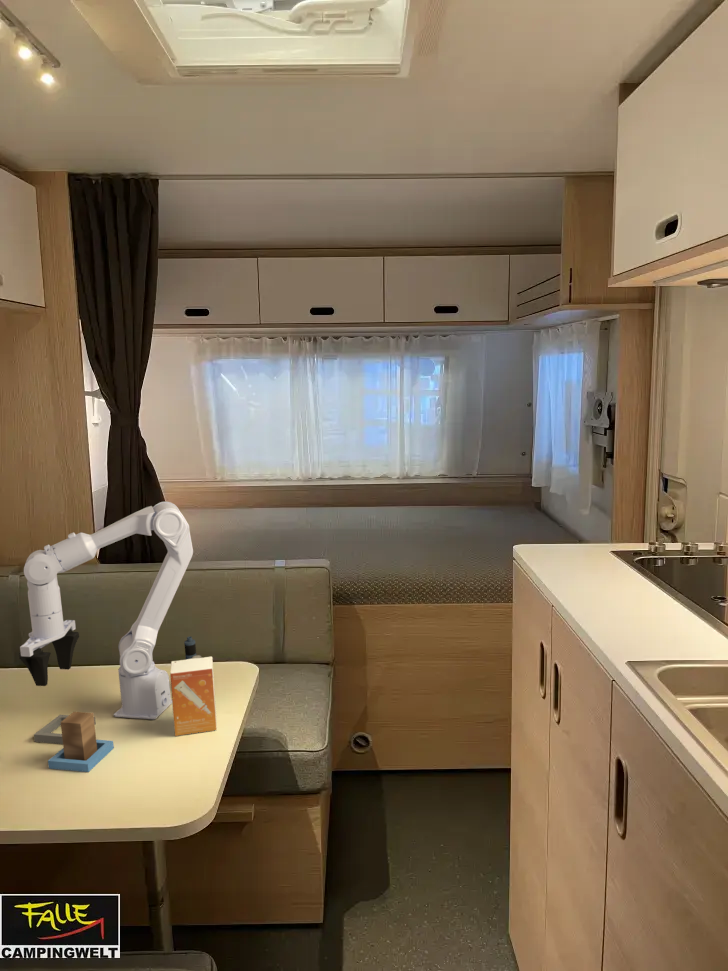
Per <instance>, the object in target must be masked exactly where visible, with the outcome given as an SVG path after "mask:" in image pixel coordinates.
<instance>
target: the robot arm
mask: <svg viewBox="0 0 728 971" xmlns="http://www.w3.org/2000/svg"><path fill="white" fill-rule="evenodd" d="M152 531H154V533H155V534H156V536H158V538H159V539H160V540H162V541H163V544H164V545H165V547H166V550H167V553H166V555H165V557H164V559H163V561H162V564H161V566H160V568H159V571H158V573H157V575H156V577H155V579H154V581H153V584H152V586H151V588H150V589H149V593H148V595H147V596H146V599H145V601H144V604H143V605H142V606H141V607H142V608H141V610H140V612H139V614H138V617H137V619H136V620H135V621H134V623H132V625H131V627H130V629H129V630H128V632H126V634H125V635H123V636H122V637H121V638H120V640H119V642H118V647H117V648H118V651H119V668H118V679H119V680H118V681H119V688H120V702H121V707H120V708H119V709H118V710H117V711H116V712H114V713H113V717H116V718H129V719H140V720H141V719H144V720H156V719H157V718H158V717H159V716H160V715H162V713H164V711H165V710H167V708H168V707H169V706H170V705H171V704H172V695H171V683H170V677H169V676H170V675H169V673H168V672H167V671H166V670H165V669H160V668H158V667H157V666H156V664H155V661H154V660H153V651H154V648H155V646H156V643H157V637H158V633H159V631H160V629H161V625H162V623H163V622H164V619H165V617H166V615H167V613H168V610H169V608H170V606H171V604H172V602H173V599H174V597H175V594H176V592H177V590H178V589H179V586H180V584H181V582H182V579H183V577H184V575H185V573H186V571H187V568H188V566H189V564H190V562H191V559H192V558H193V554H194V549H193V548H194V547H193V543H192V542H193V541H192V537H191V531H190V524H189V523H188V521H187V519H186V517H185V516H184V515H183V513H182V512H181V511H180V509H179V507H178V506H177V505H176V504H174V502H171V501H161V502H160V501H159V502H158V503H157V504H155V505H154V506H152V505H150V506H146V507H144V508H142V509H140V510H138V511H135V512H133V513H131V514H129V515H127V516H125V517H123V518H121V519H119V520H117V521H115V522H114V523H112V524H109V525H108V526H106V527H103V528H102V529H99V530H97V531H96V532H94V533H91V534H88V533H85V532H79V533H77V534H76V533H75V532H71V533H69V534H67V538H66V539H63V540H61V541H58V542H57V543H55V544H52V545H50V544H47V545H44V547H43V549H44V550H43V549H38V550H34V551H32V552H31V553H30V554H29V556H28V557H27V558H26V561H25V564H24V567H23V574H24V577H25V579H26V580H27V581H26V582H27V583H26V584H27V585H26V586H27V598H28V605H29V606H28V607H29V615H30V622H31V623H30V624H31V629H32V630H31V632H29V633H28V637H29V638H28V639H27V640H26V641H25V642H24V643H23V644H22V645H21V646H19V651H20V652H19V653H18V659H19V660H20V661H21V662H22V663H23V664H24V665H25V666H26V668H27V669H28V671H29V673H30V675H31V677H32V680H33V682H34V684H35V686H36V687H46V686H48V681H49V676H48V670H49V669H48V666H49V660H50V657H51V652H49V651H48V652H47V651H43V649H42V648H44V647H45V646H48V645H49V644H51V643H52V646H53V648H54V650H55V654H56V659H57V666H58V668H59V669H60V670H67V671H68V670H70V669H72V662H73V656H74V650H75V647H76V644H77V642H78V639H79V637H80V632H78V631H74V630H76V629H77V628H76V620H75V619H66V620H64V616H63V614H64V613H63V607H62V598H61V588H60V586H59V581H58V574H60V573H65V572H67V571H69V570H71V569H74V568H76V567H78V566H80V565H82V564H84V563H86V562H89V561H91V560H93V559H94V558H95V556H96V555H97V551H98V550H100V549H101V548H104V547H106V546H109V545H111V544H114V543H115V542H118V541H121V540H123V539H125V538H128V537H130V536H133V535H135V534H136V535H137V534H138V535H144V536H150V537H151V536H152Z"/></svg>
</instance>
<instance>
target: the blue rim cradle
mask: <svg viewBox="0 0 728 971" xmlns="http://www.w3.org/2000/svg"><path fill="white" fill-rule="evenodd" d="M96 742H97V751H96V752H95V753H94V754H93V755H92V756H91V757H90V758H89V759H87V760H86V761H83V760H72V759H65V756H64V748H63V747H62V748H61V749H60V750H59V751H58V752H57V753H55V755H53V756H51V758H49V759H48V760H47V763H48V764H47V765H48V769H52V770H62V771H72V772H84V773H89V772H90V771H92V769H94V768H95V767H96V766H97V765H98V764H99V763H100V762H101V761H102V760H104V758H106V756H107V755H108V754H110V753H111V751H113V748H115V747H114V740H107V739H96Z"/></svg>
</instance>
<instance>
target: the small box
mask: <svg viewBox="0 0 728 971" xmlns="http://www.w3.org/2000/svg"><path fill="white" fill-rule="evenodd" d="M213 660H214V659H213V656H205V657H202V658H193V659H186V660H185V659H180V660H171V661H170V663H171V664H170V673H169V676H170V677H169V679H170V693H171V700H172V703H171V704H172V715H173V717H172V718H173V727H174V736H175V737H177V736H183V735H184V736H185V735H190V734H191V733H192V734H197V733H198V732H199V733H206V731H207V732H215V731H214V730H216V731H217V728H218V727H217V723H218V722H217V706H216V694H215V679H214V678H215V676H214V664H213V663H214V662H213ZM199 733H198V734H199ZM192 734H191V735H192Z"/></svg>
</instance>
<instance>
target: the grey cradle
mask: <svg viewBox="0 0 728 971" xmlns="http://www.w3.org/2000/svg"><path fill="white" fill-rule="evenodd" d="M69 715H70V714H59V715H57V716H56V717H55V718H54V719H52V720H50V722H48V723H47V724H46V725H45V726H42V728H40V729H39V730H38V731H36V732H35V733H34V734H33V738H34V743H46V744H59V745H63V739H62V733H56V732H55V730H56V729H58V728H59V727H61V722H62V721H63V720H64V719H65V718H67V717H68V716H69ZM94 724H95V725H96V717H95V716H94ZM53 732H54V733H53Z"/></svg>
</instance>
